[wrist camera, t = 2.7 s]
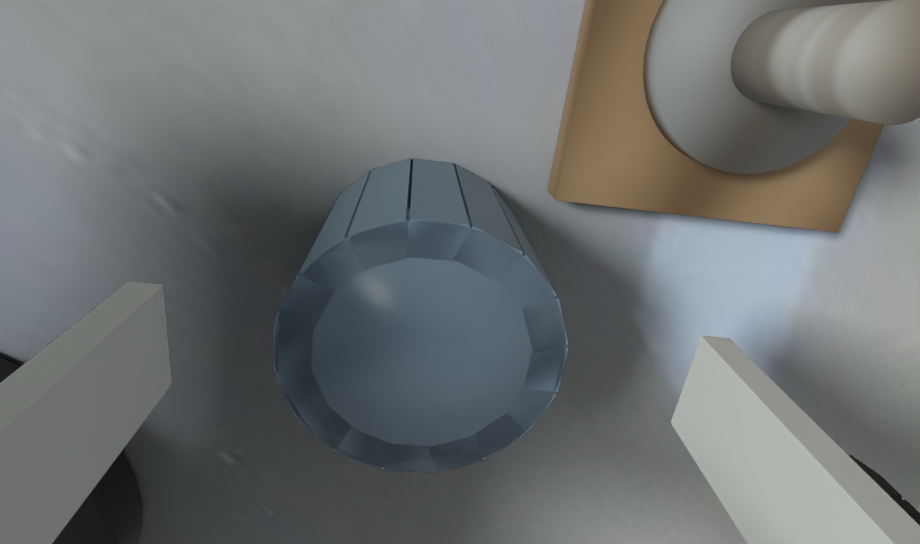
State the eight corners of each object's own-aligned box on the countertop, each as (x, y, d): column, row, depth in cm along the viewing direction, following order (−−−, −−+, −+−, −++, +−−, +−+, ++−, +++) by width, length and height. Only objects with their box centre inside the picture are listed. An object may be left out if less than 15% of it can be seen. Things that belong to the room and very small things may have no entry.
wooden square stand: (547, 190, 18) (612, 267, 12) (619, -168, 15) (768, -324, 8) (814, 221, 20) (998, 306, 13) (946, -104, 16) (1291, -198, 9)
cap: (316, 338, 20) (273, 464, 14) (323, 148, 17) (273, 203, 11) (503, 353, 21) (536, 478, 15) (537, 173, 18) (595, 238, 12)
